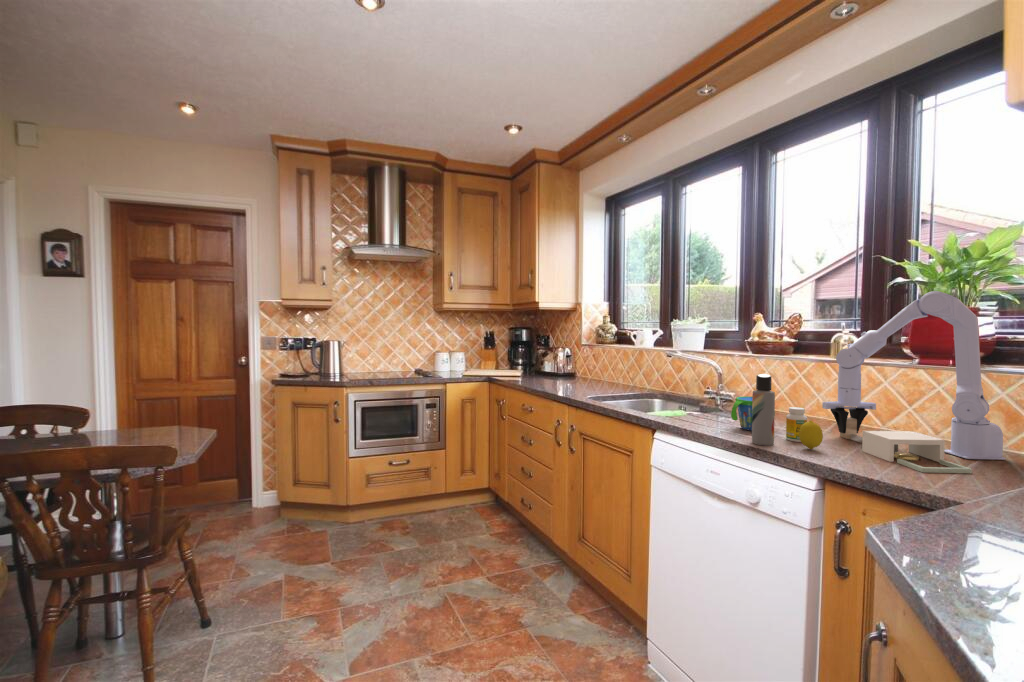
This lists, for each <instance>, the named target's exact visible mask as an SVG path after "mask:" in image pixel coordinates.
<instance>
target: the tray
mask: <svg viewBox="0 0 1024 682" xmlns="http://www.w3.org/2000/svg"><path fill="white" fill-rule="evenodd" d="M896 463H897V464H900V465H902V466H903V467H908V468H909V469H913V470H915V471H918V472H919V473H920V472H921V473H933V474H934V473H937V474H938V473H940V474H942V473H943V474H972V473H973V469H972V468H970V467H967V466H964V465H961V464H957V463H955V462H951V461H949V460H947V459H946V460H945V459H944V460H940V461H939V462H938V464H940V465H943V466H945V467H943V466H941V467H933V466H929V467H928V466H926V467H925V466H922V465H918V464H917V463H913V462H912V461H906V460H902V459H896Z"/></svg>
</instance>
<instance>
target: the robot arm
mask: <svg viewBox="0 0 1024 682" xmlns="http://www.w3.org/2000/svg"><path fill="white" fill-rule="evenodd" d="M929 315H930V316H933V317H936V318H940V319H942V320H943V321H945V322H946V323H948V324H950V325H952V327H953V339H954V359H955V375H956V390H955V395H956V396H955V401H954V402H953V404H952V406H951V412H952V414H953V416H954V417H952V418H951V423H950V424H951V426H950V427H951V429H950V432H951V433H950V435H951V436H950V449H944V453H946V454H950V455H953V456H957V457H960V458H963V459H966V460H1001V461H1002V460H1004V461H1005V460H1006V457H1003V456H1004V455H1003V450H1004V448H1003V447H1004V434H1003V431H1002V429H1001V427H1000V426H999V425H998V424H996V423H994V422H990V420H989V419H987V418H986V417H985V416H986V415H988V413H990V412H989V411H990V404H989V402H988V401H987V400H986V398H985V396H984V389H983V385H982V384H983V383H982V371H981V370H982V369H981V352H980V336H979V335H980V334H979V333H980V332H979V321H978V316H977V315H976V314H975V313H974V312H973V311H972V310H971V309H970V307H967V306H966V304H964V303H963V302H962V300H961V299H959V298H958V297H956V296H955V295H954V296H953V295H951V294H949V293H945V292H943V291H938V290H932V291H929V292H926V293H925V294H923V295H922V296H921V297H920V298H917V299H915V300H913V301H912V302H911V303H910V304H908V305H907V306H905V307H904V308H902V309H901V310H900V311H899V312H897V314H895V315H894V316H893V317H892V318H891V319H889V320H888V321H887V322H886V323H884V324H883V325H882V326H881V327H879V328H878V329H877V330H874V329H873V330H872V329H871V330H868V331H867V332H866V331H863V332H862V333H860V337H859V338H858V339H856V340H855V341H854V342H853V343H848V344H847V345H846V347H848V348H843V349H840V350H839V351H838V352H837V354H836V357H835V361H836V363H837V364H838V374H837V380H838V381H837V400H836V401H835V400H833V401H822V407H821V408H822V409H826V410H830V412H831V414H832V415H833V418H834V419H835V422H836V425H837V428H838V432H839V433H840V432H841V433H846V422H847V417H851V418H855V419H857V434H859V431H860V427H861V425H862V423H863V421H864V419H865V418H866V416H867V415H868V413H869V412H868V410H877V403H876V402H870V401H869V402H868V401H862V365H863V364H864V362H865V359H869V358H870V357H871V356H872V355H875V353H877V352H878V351H879V350H881V349H882V348H883V347H885V346H886V345H887V340H888V338H890V336H892V335H893V334H895V333H896V332H898V331H900V329H902V328H903V327H905V326H906V325H908V324H909V323H911V322H912V321H914V320H917V319H922V318H923V319H924V318H928V317H929ZM847 410H848V411H847Z"/></svg>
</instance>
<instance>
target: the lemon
mask: <svg viewBox="0 0 1024 682" xmlns="http://www.w3.org/2000/svg"><path fill="white" fill-rule="evenodd" d="M799 438H800V441H801V442H800V443H801V444H802V445H803V446H804V447H806V448H808V449H809V450H810V449H811V450H813V449H814V448H817V447H819V446H820V445H821V444H822V442H823V439H824V434H823V430H822V427H821V426H820V425H819V424H818V423H816V422H814V421H813V420H808V421H807V422H806V423H804V424H803V425H802V426H801V428H800V431H799Z"/></svg>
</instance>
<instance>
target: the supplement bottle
mask: <svg viewBox="0 0 1024 682" xmlns="http://www.w3.org/2000/svg"><path fill="white" fill-rule="evenodd" d="M788 412H789V413H788V414H786V418H785V421H786V422H785V423H786V425H785V434H786V435H785V437H786V440H788V441H790V442H794V443H795V442H797V443H802V442H801V441H800V438H799V431H800V428H801V426H802V425H803V424H804V423H806V422H808V417H807V416H806V415H805V412H806V409H805V408H804V407H795V406H794V407H793V406H792V407H791V406H790V407H788Z"/></svg>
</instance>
